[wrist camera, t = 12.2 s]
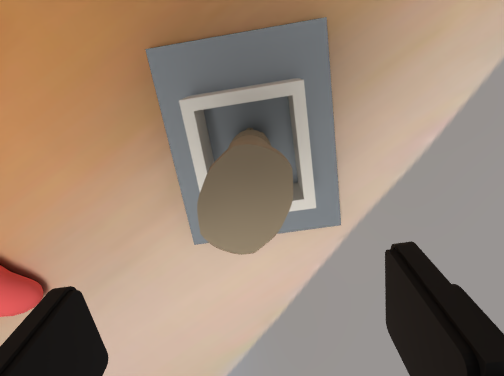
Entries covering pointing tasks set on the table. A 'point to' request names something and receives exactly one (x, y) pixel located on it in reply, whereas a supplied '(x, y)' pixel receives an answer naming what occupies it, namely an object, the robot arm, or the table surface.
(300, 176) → the socket
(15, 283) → the red bean shape
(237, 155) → the handle
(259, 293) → the table surface
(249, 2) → the table surface
